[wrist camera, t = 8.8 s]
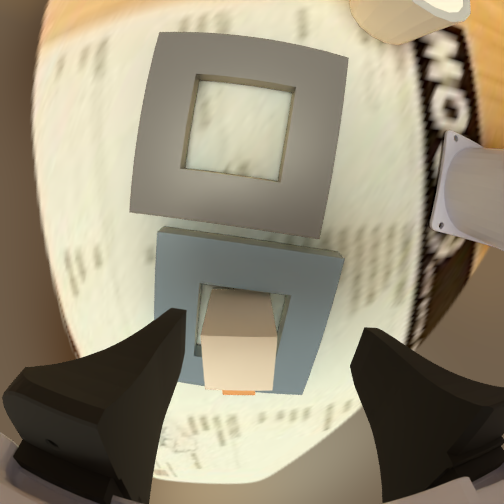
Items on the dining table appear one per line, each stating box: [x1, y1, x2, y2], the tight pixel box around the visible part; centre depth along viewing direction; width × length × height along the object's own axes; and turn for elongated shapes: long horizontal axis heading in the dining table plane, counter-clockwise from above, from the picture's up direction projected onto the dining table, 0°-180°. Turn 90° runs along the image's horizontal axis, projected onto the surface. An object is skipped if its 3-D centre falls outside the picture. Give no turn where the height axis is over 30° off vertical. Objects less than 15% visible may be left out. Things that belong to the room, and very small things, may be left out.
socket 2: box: [154, 227, 344, 395], centre depth 20 cm, size 12×12×2 cm
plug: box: [201, 289, 277, 395], centre depth 18 cm, size 4×5×6 cm
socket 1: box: [129, 32, 348, 239], centre depth 16 cm, size 12×12×2 cm
